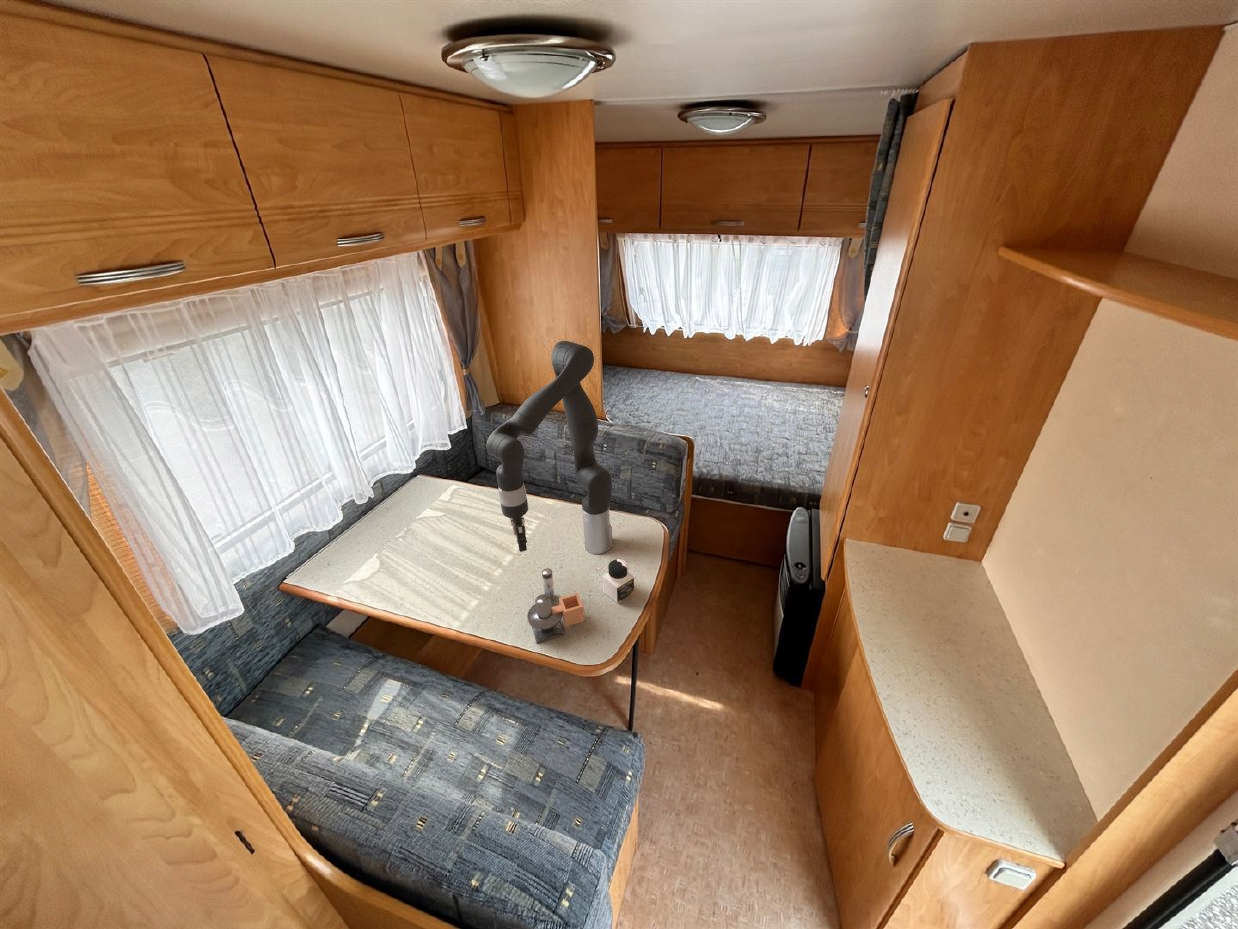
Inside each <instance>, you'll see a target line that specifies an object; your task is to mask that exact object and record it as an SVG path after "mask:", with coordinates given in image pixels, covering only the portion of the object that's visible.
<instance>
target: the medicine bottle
mask: <svg viewBox="0 0 1238 929" xmlns="http://www.w3.org/2000/svg"><path fill="white" fill-rule="evenodd" d="M607 566H608V568H607V569H608V572H606V573H605V574H602V585H603V590H602V591H603V593H604V594H606V596H608V597H609V598H610V599H611V600H613V601H614V602H615V603H616V604H620V603H621V602H623V601H624V600H626V599H627V598H629V597H630V596H632V595H633V594H634V593H635V576H634V575H632V574H631V573H630V572H629V565H628V562H626V561H625V560H624V559H618V558H616V559H613V560H612V561H610V562H609V563H608V565H607Z"/></svg>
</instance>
